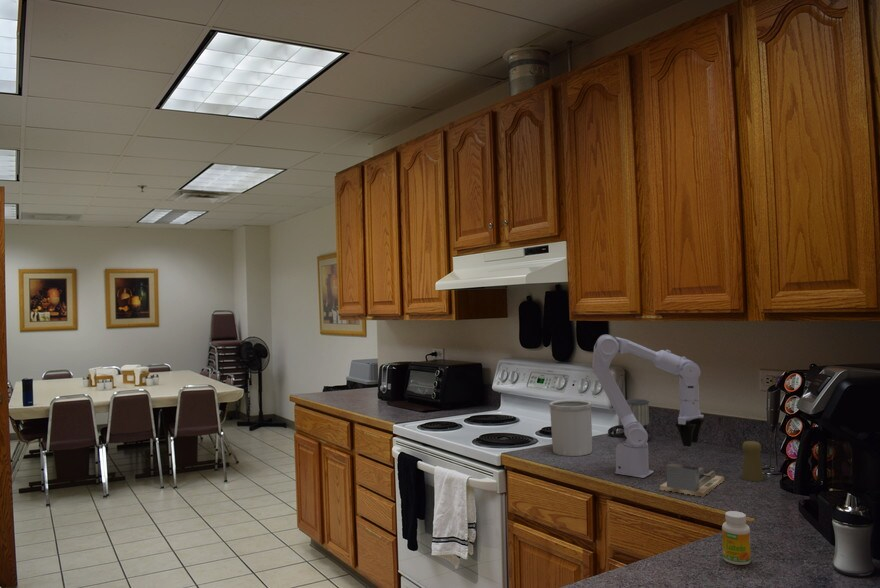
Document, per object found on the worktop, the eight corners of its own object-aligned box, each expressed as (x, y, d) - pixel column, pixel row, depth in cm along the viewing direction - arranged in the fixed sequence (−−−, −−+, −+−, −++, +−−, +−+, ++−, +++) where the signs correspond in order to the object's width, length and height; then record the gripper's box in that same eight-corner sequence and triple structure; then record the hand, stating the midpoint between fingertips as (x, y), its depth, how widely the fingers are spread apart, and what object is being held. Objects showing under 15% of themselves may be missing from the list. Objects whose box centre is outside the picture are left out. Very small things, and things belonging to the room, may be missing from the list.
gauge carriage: (680, 481, 190) (680, 469, 190) (686, 477, 194) (686, 465, 194) (708, 485, 185) (707, 473, 185) (713, 481, 189) (713, 469, 189)
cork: (744, 474, 200) (743, 438, 200) (766, 477, 196) (765, 440, 196) (739, 479, 195) (738, 442, 195) (761, 482, 191) (760, 444, 191)
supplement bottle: (723, 563, 137) (722, 517, 137) (722, 553, 142) (721, 508, 142) (752, 566, 135) (750, 519, 135) (749, 556, 140) (748, 511, 140)
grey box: (666, 486, 186) (666, 465, 186) (670, 484, 188) (670, 463, 188) (695, 491, 181) (695, 469, 181) (699, 489, 183) (698, 467, 183)
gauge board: (660, 489, 187) (659, 480, 187) (683, 474, 202) (683, 465, 202) (703, 497, 180) (703, 487, 179) (724, 480, 194) (724, 471, 194)
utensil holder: (547, 455, 229) (546, 405, 229) (554, 445, 243) (552, 398, 243) (590, 458, 225) (589, 406, 224) (594, 447, 239) (593, 399, 239)
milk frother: (650, 443, 244) (649, 403, 244) (606, 441, 248) (605, 402, 248) (650, 434, 257) (649, 397, 257) (608, 433, 262) (607, 396, 262)
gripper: (694, 404, 193) (695, 450, 193) (710, 397, 204) (711, 441, 204) (670, 402, 198) (671, 447, 198) (687, 395, 209) (688, 438, 209)
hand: (690, 444), depth 201 cm, fingers open, 5 cm apart
